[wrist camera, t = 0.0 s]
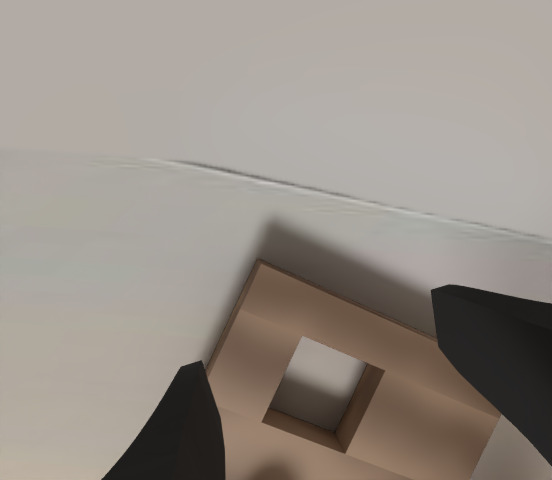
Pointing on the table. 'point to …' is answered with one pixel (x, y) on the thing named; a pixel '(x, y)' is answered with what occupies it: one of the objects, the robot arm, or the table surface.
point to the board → (365, 401)
